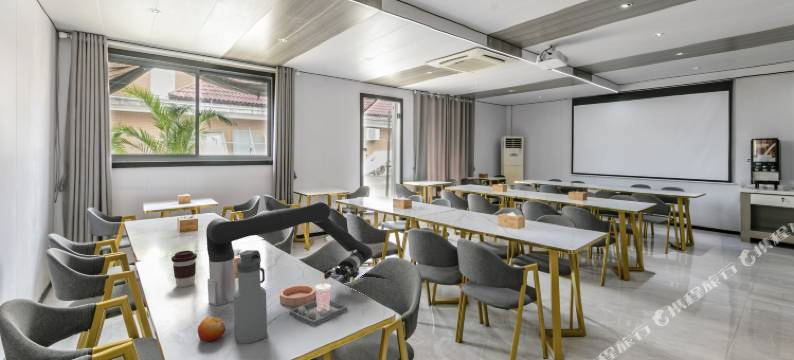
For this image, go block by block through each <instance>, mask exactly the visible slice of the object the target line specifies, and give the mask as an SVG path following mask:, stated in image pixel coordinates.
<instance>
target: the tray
mask: <svg viewBox="0 0 794 360" xmlns="http://www.w3.org/2000/svg"><path fill="white" fill-rule="evenodd" d="M330 305H331V306H333V307H335V308H338V309H337V310H334V311H332V312H330V313H327V315H325V316H323V317H322V316H320V317H318V318H315V319H313V320H311V319H309V318H308V316H304V315H300V314H298V308H299V307H301V306H303V307H305V308H306V310H307V309H309V308H311V307H314V306H317V301H316V300H314V301H313V302H310V303H308V304H305V305H299V306H297V307H296V308H293V309H290V310H288V315H289V316H291V317H294V318H296V319H298V320H299V321H302V322H304V323H306V324H308V325H310V326H313V327H314V326H316V325H318V324H320V323H323V322H325V321H327V320H329V319H332V318H334V317H336V316H338V315H341V314H343V313H344V312H347V311H348V305H344V304H342V303H340V302H337V301H334V300H331V299H330Z"/></svg>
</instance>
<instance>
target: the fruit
mask: <svg viewBox="0 0 794 360" xmlns="http://www.w3.org/2000/svg"><path fill="white" fill-rule="evenodd" d="M225 332H226V325H225V323H224V321H223V320H222V319H221V318H219V317H217V316H207V317H205V318H204V319H203V320H201V322H200V323H199V325H198V326H197V334H198V338H199V340H198V344H199V343H201V342H204V343H215V342H217V341H218V340H219V339H221V337H222V336H223V335H224V334H225Z"/></svg>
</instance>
